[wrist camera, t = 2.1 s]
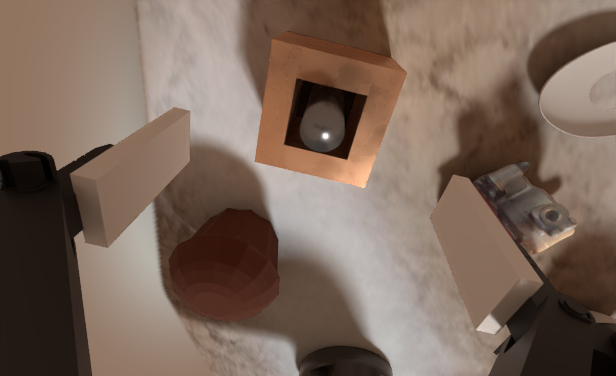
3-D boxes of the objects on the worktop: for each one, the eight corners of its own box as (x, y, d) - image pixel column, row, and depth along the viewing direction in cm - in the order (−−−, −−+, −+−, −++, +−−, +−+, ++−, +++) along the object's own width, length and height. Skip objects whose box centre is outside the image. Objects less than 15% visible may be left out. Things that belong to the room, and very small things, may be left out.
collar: (359, 152, 31) (364, 187, 25) (271, 130, 30) (254, 161, 24) (391, 57, 26) (406, 72, 20) (288, 31, 26) (272, 39, 20)
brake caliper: (405, 220, 32) (524, 249, 20) (461, 141, 34) (597, 128, 22) (464, 281, 35) (593, 334, 24) (512, 207, 37) (651, 223, 26)
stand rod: (338, 116, 29) (338, 156, 21) (307, 108, 29) (295, 146, 21) (347, 84, 27) (350, 115, 20) (314, 76, 27) (304, 104, 20)
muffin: (301, 218, 36) (289, 286, 27) (275, 280, 41) (258, 352, 33) (201, 185, 34) (155, 244, 26) (188, 253, 40) (147, 320, 32)
